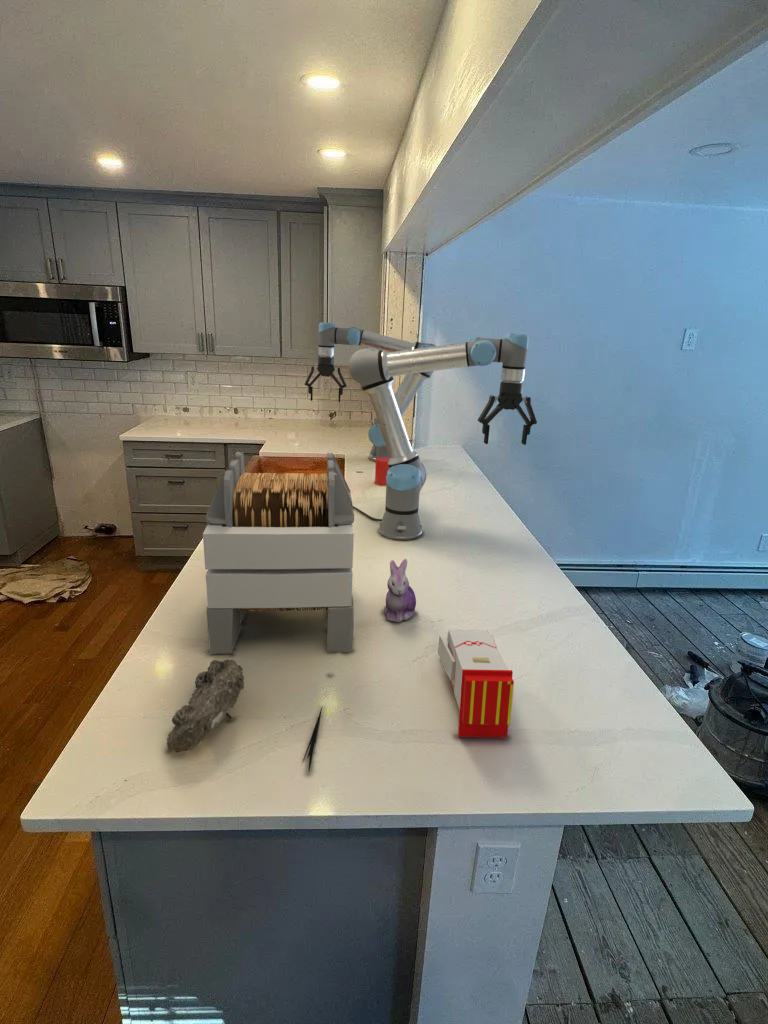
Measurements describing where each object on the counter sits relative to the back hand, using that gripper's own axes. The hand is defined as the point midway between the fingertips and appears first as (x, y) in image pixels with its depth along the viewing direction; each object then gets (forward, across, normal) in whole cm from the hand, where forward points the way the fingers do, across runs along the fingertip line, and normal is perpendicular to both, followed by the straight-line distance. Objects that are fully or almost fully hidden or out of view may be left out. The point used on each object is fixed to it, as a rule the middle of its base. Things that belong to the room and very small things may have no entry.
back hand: (325, 401), depth 279 cm
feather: (+30, +12, -192) cm, 195 cm away
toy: (+30, +43, -183) cm, 191 cm away
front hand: (-2, +68, -89) cm, 112 cm away
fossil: (+30, -8, -192) cm, 195 cm away
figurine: (+30, +30, -152) cm, 158 cm away
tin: (+30, +29, -36) cm, 55 cm away
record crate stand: (+30, 0, -155) cm, 158 cm away
